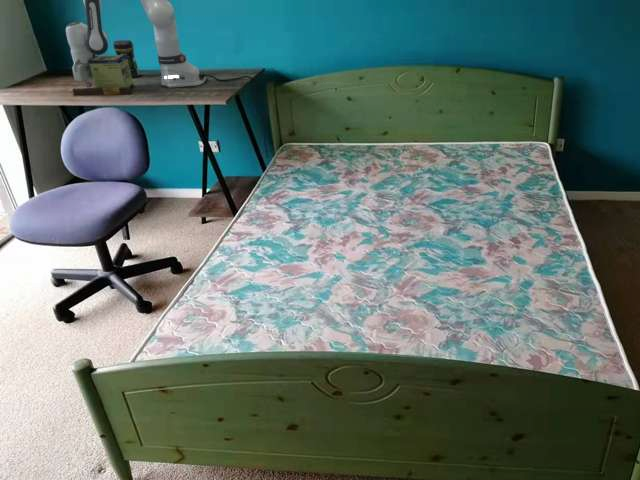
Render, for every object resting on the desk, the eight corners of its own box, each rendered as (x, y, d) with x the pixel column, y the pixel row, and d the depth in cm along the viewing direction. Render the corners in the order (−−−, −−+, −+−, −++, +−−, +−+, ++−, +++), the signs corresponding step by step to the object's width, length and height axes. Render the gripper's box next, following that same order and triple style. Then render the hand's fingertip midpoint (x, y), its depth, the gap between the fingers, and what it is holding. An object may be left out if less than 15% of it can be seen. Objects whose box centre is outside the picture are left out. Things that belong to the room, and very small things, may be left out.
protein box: (126, 92, 298) (118, 59, 289) (96, 92, 299) (87, 60, 290) (134, 86, 307) (127, 54, 298) (105, 86, 307) (96, 55, 299)
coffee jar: (119, 78, 320) (109, 42, 310) (124, 74, 327) (115, 39, 316) (137, 78, 320) (128, 41, 310) (141, 74, 327) (133, 38, 316)
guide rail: (131, 93, 296) (130, 86, 294) (130, 94, 294) (128, 88, 293) (75, 94, 297) (74, 88, 295) (74, 95, 295) (72, 89, 293)
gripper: (79, 62, 284) (87, 92, 292) (97, 53, 302) (103, 81, 309) (66, 62, 284) (74, 92, 292) (84, 53, 302) (91, 81, 309)
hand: (89, 86), depth 301 cm, fingers closed
